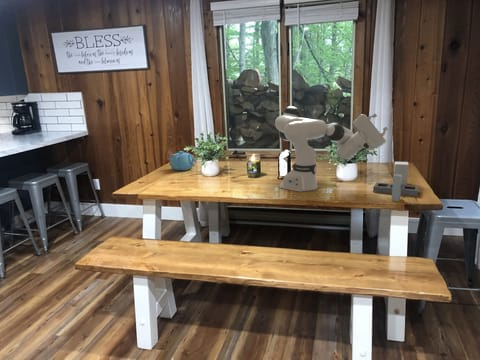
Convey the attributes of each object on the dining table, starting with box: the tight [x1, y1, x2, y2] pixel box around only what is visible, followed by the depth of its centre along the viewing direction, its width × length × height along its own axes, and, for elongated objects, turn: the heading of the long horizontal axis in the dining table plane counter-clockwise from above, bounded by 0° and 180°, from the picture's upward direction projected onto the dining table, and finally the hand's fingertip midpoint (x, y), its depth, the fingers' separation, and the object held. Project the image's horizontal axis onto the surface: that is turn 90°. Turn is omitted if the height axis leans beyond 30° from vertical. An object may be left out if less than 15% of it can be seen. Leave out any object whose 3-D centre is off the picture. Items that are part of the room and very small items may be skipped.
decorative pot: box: [168, 150, 196, 172], centre depth 280 cm, size 16×16×14 cm
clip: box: [391, 173, 402, 202], centre depth 196 cm, size 4×4×13 cm
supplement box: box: [393, 161, 409, 185], centre depth 222 cm, size 7×7×13 cm
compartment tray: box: [372, 182, 420, 198], centre depth 210 cm, size 22×10×3 cm, turn 61°
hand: (381, 121), depth 206 cm, fingers open, 8 cm apart
